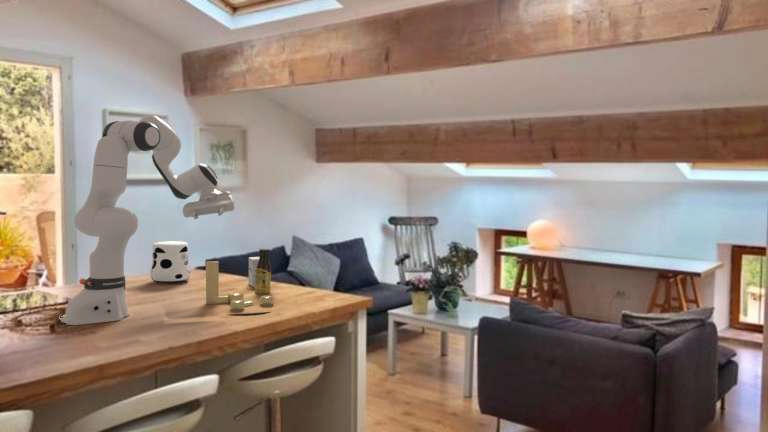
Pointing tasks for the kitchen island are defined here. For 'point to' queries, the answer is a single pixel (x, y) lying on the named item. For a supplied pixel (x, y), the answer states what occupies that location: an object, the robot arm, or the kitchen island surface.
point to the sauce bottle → (263, 273)
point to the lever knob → (217, 286)
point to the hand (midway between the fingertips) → (207, 215)
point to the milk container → (170, 262)
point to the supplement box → (252, 270)
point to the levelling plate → (239, 305)
